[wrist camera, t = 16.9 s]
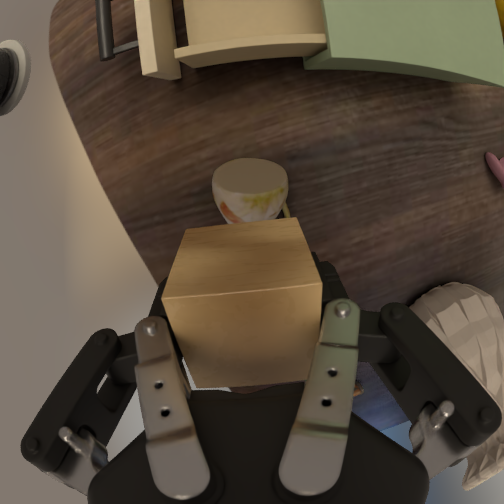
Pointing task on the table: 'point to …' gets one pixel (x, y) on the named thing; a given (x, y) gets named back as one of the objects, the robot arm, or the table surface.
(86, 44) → the table surface
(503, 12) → the apple
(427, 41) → the cabinet
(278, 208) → the mug
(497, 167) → the video game controller
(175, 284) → the block
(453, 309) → the vase
